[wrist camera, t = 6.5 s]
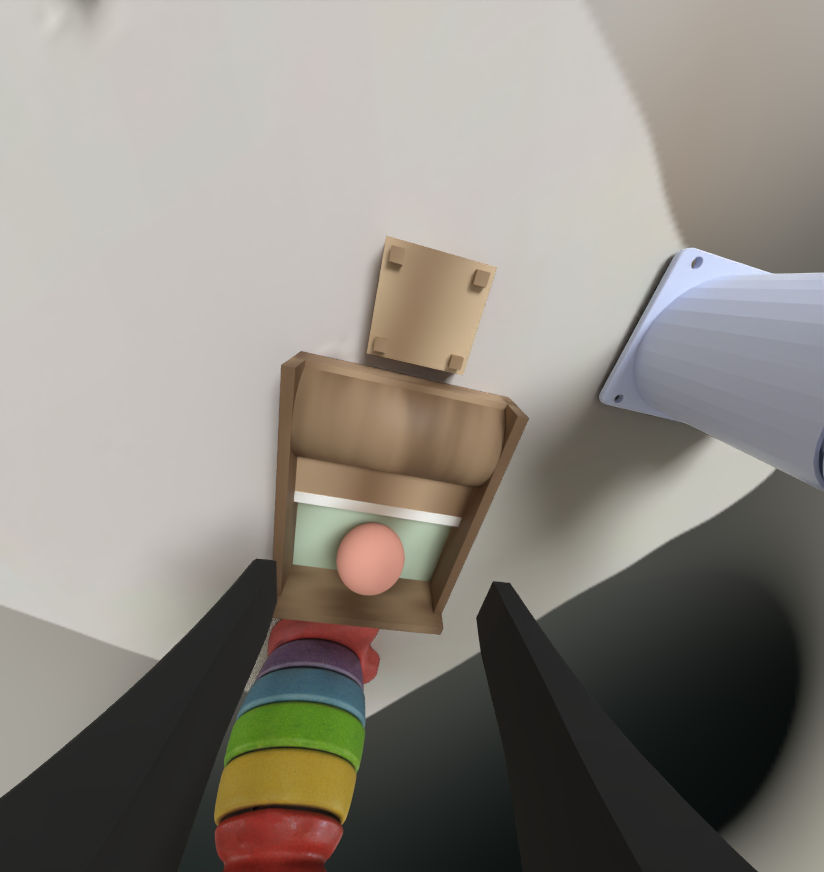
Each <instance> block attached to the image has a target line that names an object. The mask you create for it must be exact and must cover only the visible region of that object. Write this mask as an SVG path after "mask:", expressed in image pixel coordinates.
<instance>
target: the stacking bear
mask: <svg viewBox="0 0 824 872" xmlns="http://www.w3.org/2000/svg"><path fill="white" fill-rule="evenodd" d="M378 630H379V629H378V628H368V627H358V626H348V625H339V624H329V623H319V622H309V621H299V620H290V619H282V620H281V621H279V622H278V623H277V624H276V625H275V627H274V628H273V629H272V631H271V634H270V637H269V642H268V659H267V660H266V662H265V664H264V665H263V667H262V669H261V670H260V672H259V674H258V676H257V678H256V680H255V683H254V684H253V685H252V687H251V688H250V690H249V692H248V694H247V696H246V698H245V700H244V702H243V704H242V706H241V708H240V711H239V713H238V716H237V721H236V723H235V724H234V726H233V729H232V732H231V736H230V739H229V743H228V747H227V751H226V755H225V759H224V767H225V769H224V771H223V773H222V776H221V780H220V785H219V789H218V794H217V800H216V806H215V814H214V818H215V822H216V825H217V826H218V827H217V828H216V831H215V842H216V849H217V853H218V855H219V857H220V858H221V860H222V861H223V862H224V871H223V872H326V870H325V868H324V863H325V861H326V860H327V859H328V858H329V857H330V856H331V855H332V853H333V851H334V850H335V848H336V846H337V844H338V842H339V840H340V839H341V837H342V834H343V828H342V826H341V825H342V824H343V822H344V821H345V819H346V817H347V814H348V810H349V807H350V803H351V799H352V795H353V791H354V786H355V781H356V773H357V771H358V769H359V765H360V761H361V756H362V750H363V744H364V736H365V731H364V727H365V696H364V693H363V691H364V687H363V684H366V683H368V682H370V681H371V680H372V679H373V678H374V677H375V676H376V674H377V671H378V666H379V661H380V658H379V656H378V654H377V653H376V652H375V651H374V650H373V649H372V648H371V647H370V643H371V642H372V641H373V639H374V638H375V636H376V635H377V632H378Z"/></svg>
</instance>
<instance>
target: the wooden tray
mask: <svg viewBox="0 0 824 872" xmlns="http://www.w3.org/2000/svg"><path fill="white" fill-rule="evenodd" d="M528 420H529V418H528V417H527V416H526V415H525V414H524V413H523V412H522V410H521V409H520V408H519V407H518V406H517V405H516V404H515V403H514V402H513V401H512V400H511V399H510V398H508V397H504V396H499V395H495V394H490V393H486V392H482V391H477V390H473V389H468V388H464V387H459V386H455V385H450V384H446V383H441V382H437V381H432V380H428V379H423V378H419V377H414V376H410V375H405V374H401V373H396V372H392V371H387V370H383V369H378V368H374V367H370V366H365V365H361V364H356V363H352V362H347V361H343V360H338V359H334V358H329V357H325V356H320V355H316V354H311V353H307V352H302V351H301V352H299V353H298V354H296V355H295V356H294V357H292V358H291V359H289V360H288V361H286V362H285V363H284V364H282V365H281V383H280V407H279V430H278V453H277V477H276V500H275V523H274V547H273V560H274V561H276V566H277V605H276V608H275V611H274V614H273V617H272V618H280V619H290V620H299V621H309V622H319V623H329V624H339V625H348V626H358V627H368V628H378V629H388V630H397V631H407V632H417V633H427V634H437V635H440V634H441V632H442V630H443V623H442V615H441V614H442V612H443V610H444V607H445V605H446V603H447V601H448V598H449V596H450V594H451V592H452V589H453V587H454V585H455V583H456V580H457V578H458V576H459V574H460V572H461V569H462V567H463V565H464V563H465V560H466V558H467V556H468V554H469V551H470V549H471V547H472V545H473V543H474V540H475V538H476V536H477V534H478V531H479V529H480V527H481V525H482V522H483V520H484V518H485V516H486V513H487V511H488V509H489V507H490V505H491V502H492V500H493V498H494V496H495V493H496V491H497V489H498V487H499V484H500V482H501V480H502V478H503V476H504V473H505V471H506V469H507V467H508V464H509V462H510V460H511V458H512V455H513V453H514V451H515V449H516V446H517V444H518V442H519V440H520V438H521V435H522V433H523V431H524V429H525V426H526V424H527V422H528ZM370 522H375V523H381V524H383V525H386V526H388V527H389V528H391V529H392V530H393V531H394V532H395V533H396V534H397V535H398V537H399V538H400V540H401V542H402V544H403V548H404V553H405V561H404V567H403V570H402V573H401V575H400V577H399V578H398V580H397V581H396V583H395V584H394V585H393V586H392V587H390V588H389V589H388V590H386V591H384V592H382V593H380V594H377V595H370V596H369V595H361V594H358V593H355V592H353V591H352V590H350V589H349V588H348V587H347V586H346V585H345V584H344V583H343V581H342V580H341V578H340V576H339V574H338V570H337V564H336V558H337V551H338V548H339V546H340V543H341V541H342V540H343V538H344V537H345V536H346V534H347V533H348V532H349V531H351V530H352V529H353V528H355V527H356V526H358V525H361V524H364V523H370Z"/></svg>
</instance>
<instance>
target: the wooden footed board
mask: <svg viewBox="0 0 824 872" xmlns="http://www.w3.org/2000/svg"><path fill="white" fill-rule="evenodd" d="M496 269H497V267H494V266H490V265H487V264H483V263H480V262H476V261H473V260H469V259H466V258H462V257H459V256H455V255H452V254H448V253H445V252H442V251H438V250H435V249H431V248H428V247H424V246H421V245H417V244H414V243H410V242H407V241H403V240H400V239H396V238H393V237H389V236H386V240H385V246H384V252H383V258H382V264H381V270H380V276H379V282H378V288H377V294H376V300H375V306H374V312H373V318H372V324H371V330H370V336H369V342H368V348H367V353H368V354H372V355H377V356H381V357H385V358H390V359H394V360H398V361H403V362H407V363H411V364H416V365H420V366H425V367H429V368H433V369H438V370H442V371H446V372H451V373H455V374H459V375H463V373H464V370H465V367H466V363H467V360H468V357H469V354H470V351H471V348H472V344H473V341H474V338H475V335H476V332H477V329H478V326H479V322H480V319H481V316H482V313H483V310H484V307H485V304H486V300H487V297H488V294H489V291H490V288H491V285H492V282H493V278H494V275H495V272H496Z"/></svg>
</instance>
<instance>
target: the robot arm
mask: <svg viewBox="0 0 824 872" xmlns="http://www.w3.org/2000/svg"><path fill="white" fill-rule="evenodd" d="M694 259H695V260H696V262H695V265H694V266H693V267H692V266H691V264H692V261H693V260H694ZM617 395H619V398H618V399H617V400H615V401H614V399H615V397H616V396H617ZM599 400H600V401H601V402H602V403H604V404H606V405H610V406H614V407H618V408H623V409H627V410H631V411H636V412H640V413H644V414H649V415H653V416H657V417H661V418H666V419H670V420H674V421H679V422H683V423H686V424H688V425H690V426H692V427H694V428H696V429H698V430H700V431H702V432H704V433H706V434H708V435H710V436H712V437H714V438H716V439H718V440H720V441H722V442H724V443H726V444H728V445H730V446H732V447H734V448H736V449H739V450H741V451H743V452H745V453H747V454H749V455H751V456H753V457H755V458H757V459H759V460H761V461H763V462H765V463H767V464H769V465H771V466H773V467H775V468H777V469H779V470H781V471H783V472H786V473H788V474H789V475H791V476H794V477H795V478H798V479H800V480H802V481H804V482H806V483H808V484H810V485H812V486H814V487H816V488H818V489H820V490H822V491H824V273H797V274H795V273H794V274H772V273H769V272H766V271H763V270H760V269H757V268H753V267H750V266H747V265H744V264H741V263H738V262H735V261H732V260H729V259H726V258H723V257H720V256H717V255H714V254H711V253H708V252H705V251H701V250H698V249H695V248H685V249H682V250H680V251H679V252H678V253H676V255H675V256H674V257H673V259H672V261H671V263H670V265H669V267H668V268H667V270H666V272H665V274H664V276H663V278H662V280H661V281H660V283H659V285H658V287H657V289H656V291H655V293H654V294H653V296H652V298H651V300H650V302H649V304H648V305H647V307H646V309H645V311H644V313H643V315H642V317H641V318H640V320H639V322H638V324H637V326H636V328H635V330H634V331H633V333H632V335H631V337H630V339H629V341H628V342H627V344H626V346H625V348H624V350H623V352H622V354H621V355H620V357H619V359H618V361H617V363H616V365H615V366H614V368H613V370H612V372H611V374H610V376H609V378H608V379H607V381H606V383H605V385H604V387H603V389H602V391H601V392H600V395H599ZM276 605H277V566H276V561H274V560H263V559H255V560H254V561H252V563H251V564H250V565H249V566H248V568H247V569H246V570H245V571H244V572H243V573H242V575H241V576H240V577H239V578H238V579H237V581H236V582H235V583H234V584H233V585H232V586H231V587H230V589H229V590H228V591H227V592H226V593H225V594H224V595H223V596H222V597H221V599H220V600H219V601H218V602H217V603H216V604H215V605H214V606H213V607H212V608H211V609H210V610H209V612H208V613H207V614H206V615H205V616H204V617H203V618H202V619H201V620H200V621H199V622H198V623H197V624H196V625H195V626H194V627H193V628H192V629H191V630H190V632H189V633H188V634H187V635H186V636H185V637H184V638H183V639H182V640H181V641H180V642H178V643H177V644H176V645H175V646H174V647H173V648H172V649H171V650H170V651H169V652H168V653H167V654H166V655H165V656H164V657H163V658H162V659H161V660H160V661H159V662H158V663H157V664H156V665H155V666H154V667H153V668H152V669H151V670H150V671H149V672H148V673H147V674H146V675H145V676H143V678H141V679H140V680H139V681H138V682H137V683H136V684H135V685H134V686H133V687H132V688H130V689H129V690H128V691H127V692H126V693H125V694H124V695H123V696H122V697H121V698H119V699H118V700H117V701H116V702H115V703H114V704H113V705H112V706H110V707H109V708H108V709H107V710H106V711H105V712H104V713H103V714H101V716H99V717H98V718H97V719H96V720H94V721H93V722H92V723H91V724H90V725H89V726H88V727H86V728H85V729H84V730H83V731H82V732H81V733H79V734H78V735H77V736H76V737H75V738H73V739H72V740H71V741H70V742H69V743H68V744H66V745H65V746H64V747H63V748H62V749H61V750H60V751H58V752H57V753H56V754H55V755H53V756H52V757H51V758H50V759H49V760H48V761H46V762H45V763H44V764H42V765H41V766H40V767H39V768H38V769H36V770H35V771H34V772H33V773H32V774H30V775H29V776H28V777H27V778H25V779H24V780H23V781H21V783H19V784H18V785H17V786H15V787H14V788H13V789H11V790H10V791H9V792H8V793H6V794H5V795H4V796H2V797H1V798H0V872H177V871H178V867H179V865H180V862H181V859H182V855H183V853H184V850H185V847H186V844H187V841H188V838H189V835H190V832H191V829H192V826H193V823H194V820H195V817H196V814H197V811H198V808H199V805H200V802H201V800H202V797H203V794H204V791H205V788H206V785H207V782H208V779H209V777H210V773H211V771H212V768H213V765H214V762H215V759H216V756H217V754H218V751H219V748H220V746H221V743H222V741H223V738H224V736H225V733H226V731H227V728H228V726H229V723H230V721H231V719H232V716H233V714H234V712H235V709H236V707H237V705H238V702H239V700H240V698H241V695H242V693H243V691H244V688H245V686H246V684H247V681H248V679H249V677H250V674H251V672H252V670H253V667H254V665H255V663H256V660H257V658H258V655H259V653H260V651H261V648H262V646H263V644H264V641H265V639H266V636H267V633H268V630H269V627H270V624H271V621H272V617H273V614H274V611H275V608H276ZM476 619H477V627H478V635H479V642H480V649H481V655H482V659H483V664H484V668H485V672H486V676H487V681H488V685H489V688H490V693H491V697H492V701H493V706H494V709H495V714H496V718H497V722H498V726H499V730H500V734H501V739H502V743H503V748H504V753H505V758H506V764H507V770H508V776H509V782H510V788H511V794H512V800H513V807H514V813H515V819H516V827H517V833H518V840H519V847H520V854H521V861H522V869H523V872H757V871H756V870H755V869H754V868H753V867H752V866H751V865H750V864H749V863H748V862H746V860H745V859H744V858H743V857H741V856H740V855H739V854H738V853H737V852H736V851H735V850H734V849H733V848H732V847H731V846H730V845H729V844H728V843H727V842H726V841H725V840H724V839H723V838H722V837H721V836H720V835H719V834H718V833H717V832H716V831H715V830H714V829H713V828H712V827H711V826H710V825H709V824H708V823H707V822H706V821H705V820H704V819H703V818H702V817H701V816H700V815H699V814H698V813H697V812H696V811H695V810H694V809H693V808H692V807H691V806H690V805H689V804H688V803H687V802H686V801H685V800H684V799H683V798H682V797H681V796H680V795H679V794H678V793H677V792H676V791H675V790H674V788H673V787H672V786H671V785H670V784H669V783H668V782H667V781H666V780H665V779H664V778H663V777H662V776H661V775H660V774H659V773H658V772H657V771H656V769H655V768H654V767H653V766H652V765H651V764H650V763H649V762H648V761H647V760H646V759H645V758H644V757H643V756H642V755H641V754H640V752H639V751H638V750H637V749H636V748H635V747H634V746H633V744H632V743H631V742H630V741H629V740H628V739H627V738H626V737H625V735H624V734H623V733H622V732H621V731H620V730H619V728H618V727H617V726H616V725H615V724H614V723H613V721H612V720H611V719H610V718H609V717H608V716H607V714H606V713H605V712H604V711H603V710H602V708H601V707H600V706H599V705H598V704H597V703H596V701H595V700H594V699H593V697H592V696H591V695H590V694H589V692H588V691H587V690H586V689H585V687H584V686H583V685H582V683H581V682H580V681H579V680H578V678H577V677H576V676H575V675H574V673H573V672H572V670H571V669H570V668H569V667H568V665H567V664H566V663H565V661H564V660H563V658H562V657H561V656H560V654H559V653H558V652H557V650H556V649H555V647H554V646H553V645H552V643H551V642H550V640H549V639H548V638H547V637H546V635H545V634H544V632H543V631H542V629H541V628H540V626H539V625H538V623H537V622H536V620H535V619H534V618H533V616H532V615H531V613H530V612H529V610H528V609H527V607H526V606H525V604H524V603H523V601H522V600H521V598H520V597H519V596H518V594H517V593H516V591H515V590H514V588H513V587H512V585H511V584H510V583H505V582H494V581H493V583H492V585H491V587H490V589H489V591H488V594H487V596H486V598H485V600H484V602H483V605H482V607H481V609H480V611H479V613H478V615H477V618H476Z"/></svg>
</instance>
